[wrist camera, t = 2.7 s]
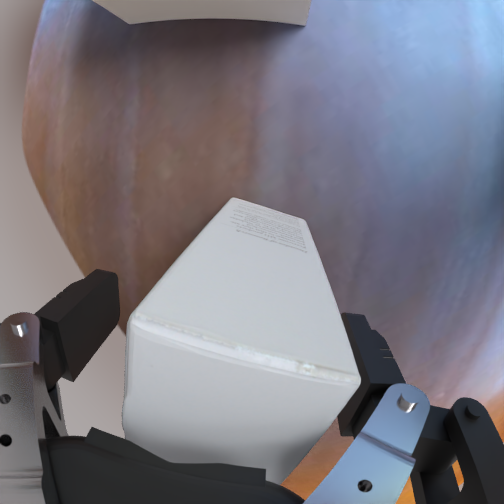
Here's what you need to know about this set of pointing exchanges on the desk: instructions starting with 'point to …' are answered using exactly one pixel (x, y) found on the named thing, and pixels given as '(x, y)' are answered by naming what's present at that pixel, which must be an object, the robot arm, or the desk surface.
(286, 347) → the skincare box
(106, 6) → the cream rectangular block
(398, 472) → the robot arm
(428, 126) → the desk surface
